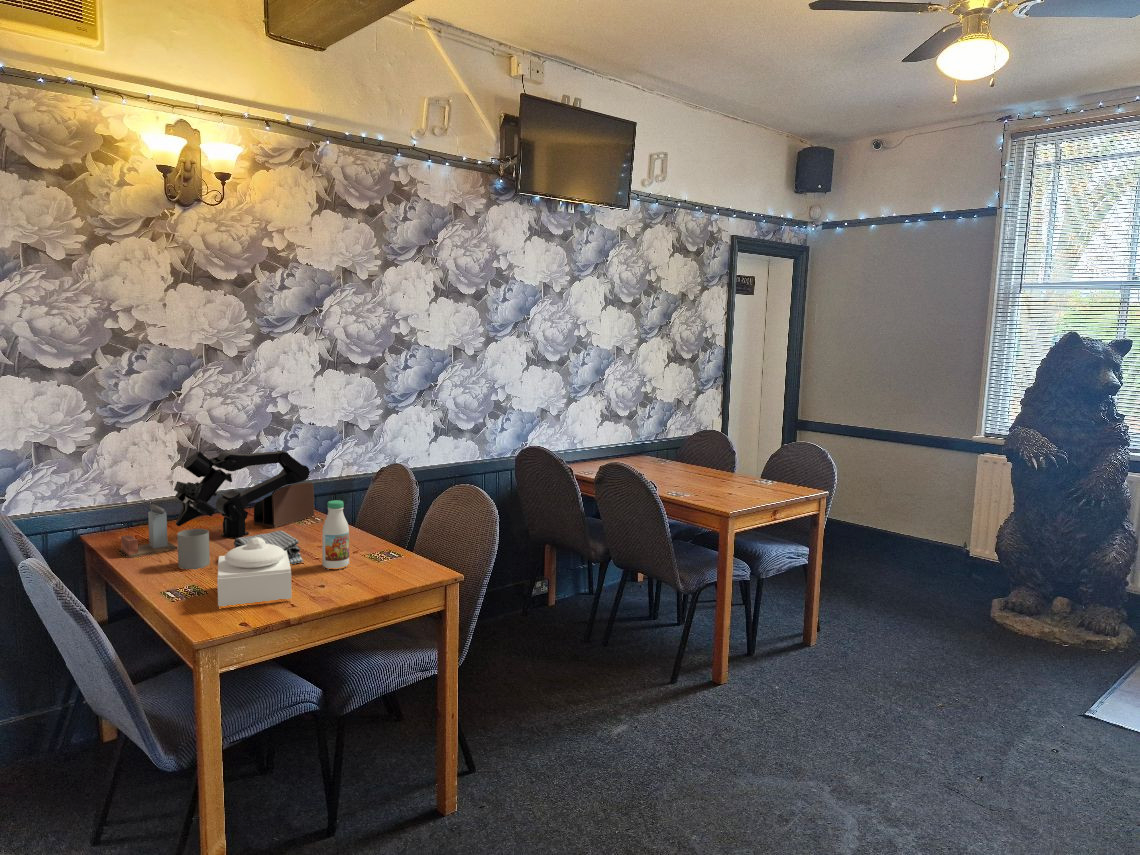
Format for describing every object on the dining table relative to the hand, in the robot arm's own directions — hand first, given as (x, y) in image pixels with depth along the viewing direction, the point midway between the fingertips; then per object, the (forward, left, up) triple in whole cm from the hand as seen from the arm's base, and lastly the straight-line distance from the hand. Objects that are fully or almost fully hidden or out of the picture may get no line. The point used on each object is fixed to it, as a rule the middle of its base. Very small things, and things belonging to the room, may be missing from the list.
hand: (177, 525), depth 247 cm
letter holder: (-10, -39, -7) cm, 41 cm away
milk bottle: (-58, -2, -7) cm, 58 cm away
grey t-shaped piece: (+2, +5, -7) cm, 9 cm away
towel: (-36, +1, -7) cm, 37 cm away
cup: (-20, +14, -7) cm, 25 cm away
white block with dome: (-52, +26, -7) cm, 59 cm away
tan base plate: (+4, +8, -7) cm, 11 cm away
